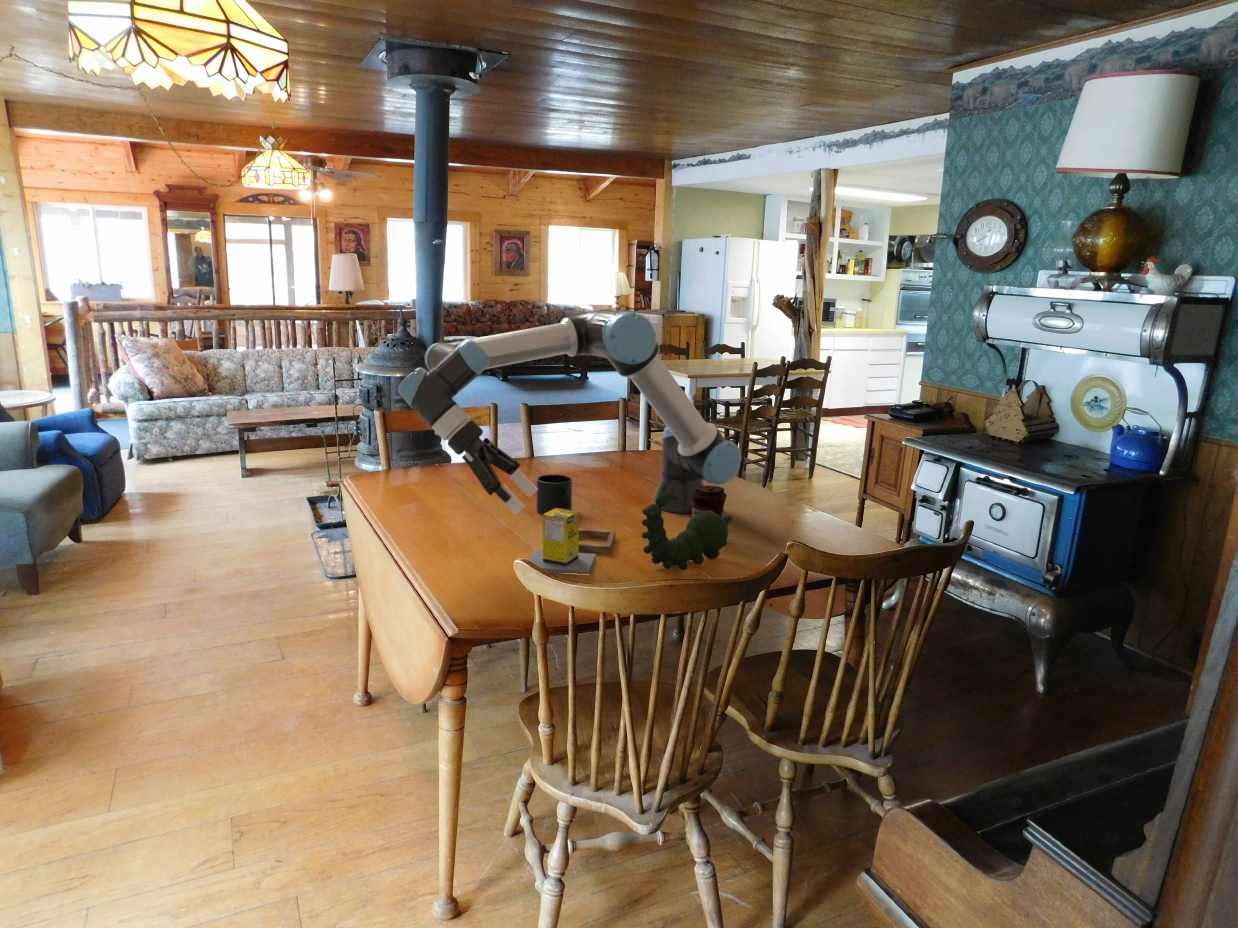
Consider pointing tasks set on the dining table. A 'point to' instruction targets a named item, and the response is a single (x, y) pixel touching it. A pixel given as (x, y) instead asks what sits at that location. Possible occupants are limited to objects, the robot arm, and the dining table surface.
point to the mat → (577, 566)
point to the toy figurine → (683, 536)
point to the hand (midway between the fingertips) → (527, 501)
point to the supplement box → (560, 536)
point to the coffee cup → (708, 500)
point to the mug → (554, 493)
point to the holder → (596, 548)
